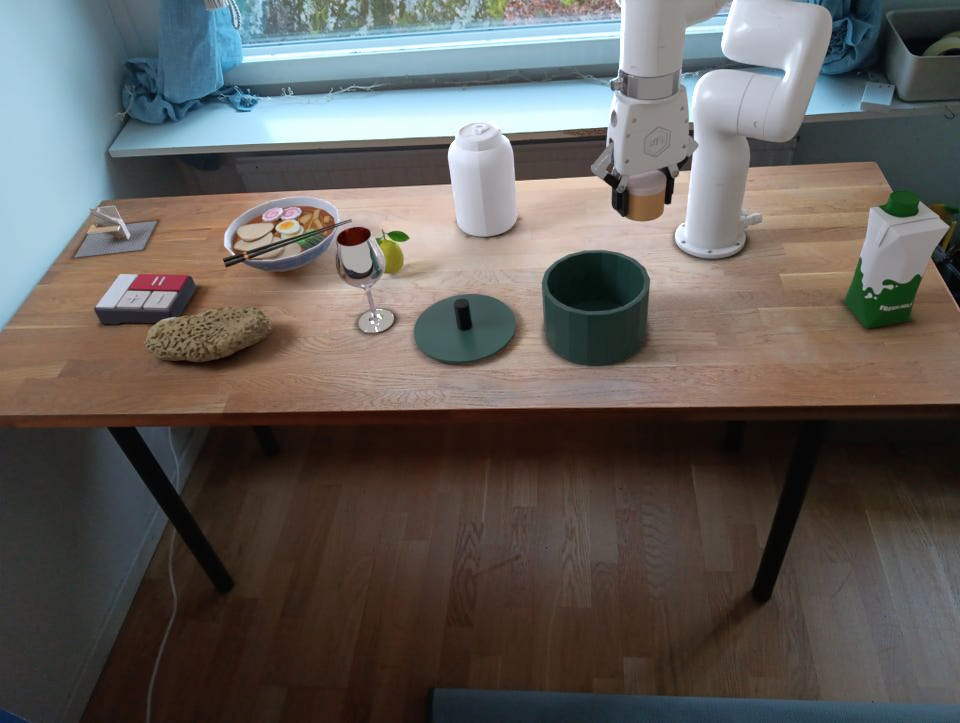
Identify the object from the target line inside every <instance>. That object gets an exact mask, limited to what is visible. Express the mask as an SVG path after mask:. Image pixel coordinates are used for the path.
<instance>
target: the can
mask: <svg viewBox="0 0 960 723" xmlns="http://www.w3.org/2000/svg"><path fill="white" fill-rule="evenodd" d="M454 138H455V139H454V140H453V141H452V143H451V144H450V146H449V148H448V153H447V160H448V166H449V173H450V174H449V175H450V181H451V182H450V183H451V188H452V196H453V202H454V210H455V217H456V222H457V226H458V227H459V228H460V230H461V231H462V232H464V233H465V234H468V235H470V236H474V237H481V238H483V237H485V238H486V237H487V238H488V237H494V236H498V235H500V234H503V233H506V232H508V231H509V230H511V229H512V228H513V227H514V225H516V223H517V221H518V216H519V214H518V200H517V186H516V184H517V183H516V173H515V172H516V171H515V159H514V150H513V147H512V144H511V142H510V139H509V138H507V137H506V136H505V135H503V134H502V130H501V128H500V127H499V125H497V124H496V123H494V122H491V121H486V120H485V121H484V120H483V121H472V122H468V123H465V124H464V125H462V126H460V127H459V128H458V129H457V131H456V132H455V136H454Z"/></svg>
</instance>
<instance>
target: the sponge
mask: <svg viewBox="0 0 960 723" xmlns="http://www.w3.org/2000/svg"><path fill="white" fill-rule="evenodd" d="M271 332H272V321H271V320H270V318H269V317H268V315H267V316H266V314H265V312H263V311H262V310H260V309H259V308H258V307H252V306H244V305H243V306H241V305H240V306H230V307H229V306H223V307H217V308H215V309H214V308H212V309H207V310H206V309H205V310H203V311H201V312H199V313H197V314H191V315H182V316H179V317H177V318H176V317H172V318H167V319H162V320H160V321H159V322H157V323H154V325H152V326H151V327H150V329H149V330H148V331H147V336H146V338H145V339H143V345H144V346H145V350H146V352H147V353H148V354H149V355H151V356H152V357H153V358H154V357H155V358H157V359H158V360H163V361H165V362H166V361H168V362H169V361H170V362H171V361H172V362H173V361H174V362H179V361H188V362H193V363H203V362H209V361H214V360H219V359H220V358H221V359H223V358H226V357H230V356H232V355H234V354H235V353H237V352H238V351H241V350H243V349H245V348H247V347H251V346H253V345H256V344H258V343H259V342H260V341H261V340H263V339H265V338H266V337H267V336H269V334H270V333H271Z"/></svg>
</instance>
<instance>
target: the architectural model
mask: <svg viewBox="0 0 960 723" xmlns="http://www.w3.org/2000/svg"><path fill="white" fill-rule="evenodd" d="M89 212H90V214H91V215H92V217H93V219H94V220H95V221H92V223H93V224H91V225H90V226H89V228H88V230H87V231H86V234H87V236H86V238H85V239H84V241H83V242H82V244H81V245H80V247H79V249H78V250H77V252H76V254H75V255H74V257H73V258H83V257H91V256H99V255H100V256H101V255H108V254H109V255H110V254H118V253H126V252H132V251H133V252H134V251H135V252H136V251H143V250H144V248H145V247H146V245H147V242H148V241H149V239H150V237H151V235H152V232H153V231H154V229H155V227H156V225H157V222H158V220H153V221H144V222H136V223H135V222H134V223H128V224H126V223H125V222H124V220H123V219H122V216H121V215H120V213H119V210H118V209H117V208H116V205H107V206H99V207H91V208H89Z"/></svg>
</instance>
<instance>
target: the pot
mask: <svg viewBox="0 0 960 723" xmlns="http://www.w3.org/2000/svg"><path fill="white" fill-rule="evenodd" d="M650 287H651V277H650V275H649V273H648V271H647V269H646V267H645V266H644V265H643V264H641V262H639V261H638V260H637V259H636V258H633V257H632V256H629V255H626V254H624V253H622V252H619V251H612V250H606V249H587V250H586V249H585V250H580V251H575V252H573V253H569V254H566V255H564V256H562V257H561V258H559V259H556V260H555V261H554V262H553V263H551V264H550V266H548V268H547V269H546V270H545V271H544V273H543V277H542V280H541V297H542V314H543V329H544V330H543V331H544V337H545V341H546V343H547V344H548V346H549V347H550V349H551V350H552V351H553V352H554V353H555V354H557V355H558V356H559V357H561V358H562V359H564V360H567V361H569V362H572V363H574V364H577V365H583V366H596V367H597V366H598V367H599V366H607V365H608V366H609V365H612V364H616V363H620V362H623V361H625V360H627V359H628V358H630V357H631V356H633V355H634V354H636V353H637V352H638V351H639V350H640V349H641V347H642V346H643V344H644V342H645V340H646V335H647V327H648V326H647V325H648V313H649V299H650Z"/></svg>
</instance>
